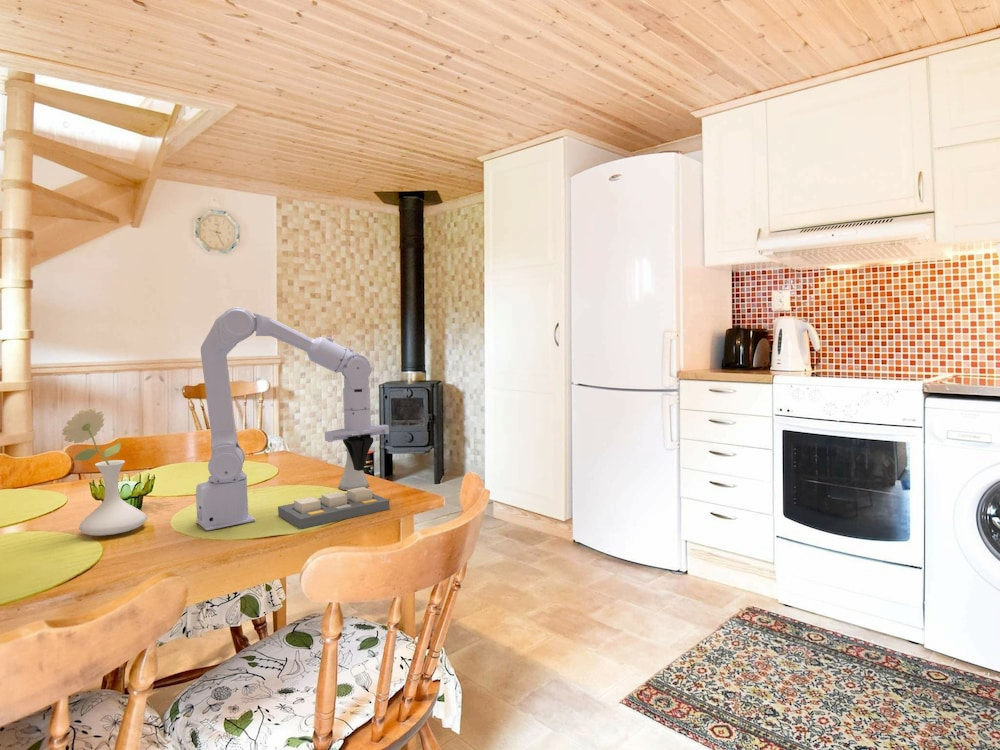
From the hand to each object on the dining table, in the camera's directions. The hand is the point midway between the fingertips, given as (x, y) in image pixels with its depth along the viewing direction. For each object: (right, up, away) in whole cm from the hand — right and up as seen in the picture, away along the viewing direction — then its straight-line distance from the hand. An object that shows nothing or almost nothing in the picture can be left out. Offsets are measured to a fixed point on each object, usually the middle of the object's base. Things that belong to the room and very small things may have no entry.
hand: (359, 469), depth 134 cm
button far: (0, -7, 0) cm, 7 cm away
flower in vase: (-46, -10, -15) cm, 49 cm away
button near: (-9, -7, -7) cm, 14 cm away
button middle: (-4, -7, -3) cm, 9 cm away
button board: (-4, -9, -3) cm, 10 cm away
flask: (-6, -8, +18) cm, 20 cm away
